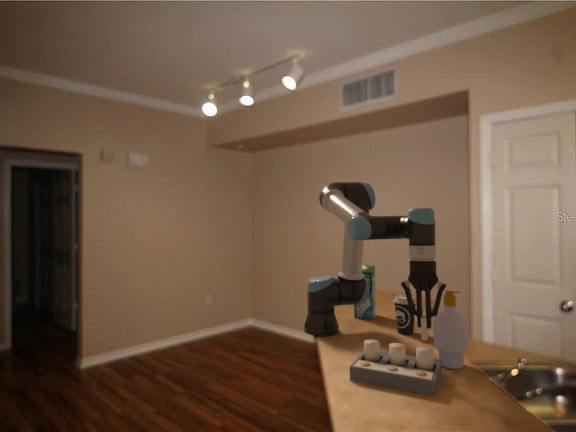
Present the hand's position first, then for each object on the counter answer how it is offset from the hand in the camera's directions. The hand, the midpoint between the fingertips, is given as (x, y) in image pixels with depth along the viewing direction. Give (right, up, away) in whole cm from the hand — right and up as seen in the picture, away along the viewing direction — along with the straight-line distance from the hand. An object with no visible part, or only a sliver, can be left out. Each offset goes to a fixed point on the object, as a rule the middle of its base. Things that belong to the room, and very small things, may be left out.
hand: (424, 338), depth 111 cm
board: (-8, -12, +3) cm, 15 cm away
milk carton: (-2, -14, +74) cm, 75 cm away
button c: (0, -9, 0) cm, 9 cm away
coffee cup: (+9, -13, +46) cm, 49 cm away
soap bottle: (+12, -12, +10) cm, 20 cm away
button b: (-7, -9, +4) cm, 12 cm away
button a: (-14, -10, +8) cm, 19 cm away
